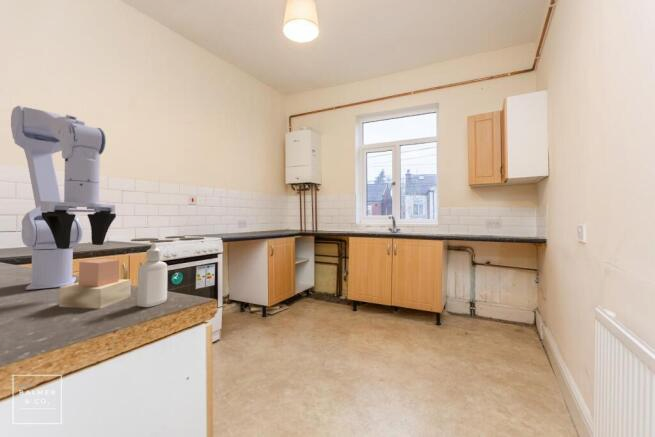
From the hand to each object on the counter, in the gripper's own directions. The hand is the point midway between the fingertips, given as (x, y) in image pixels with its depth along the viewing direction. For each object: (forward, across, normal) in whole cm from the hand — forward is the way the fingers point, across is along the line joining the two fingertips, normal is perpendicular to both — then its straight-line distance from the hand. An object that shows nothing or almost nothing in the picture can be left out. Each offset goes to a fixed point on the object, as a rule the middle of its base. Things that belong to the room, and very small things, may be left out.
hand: (81, 246), depth 64 cm
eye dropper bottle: (+11, -1, -18) cm, 21 cm away
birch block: (+11, -3, -7) cm, 13 cm away
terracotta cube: (+7, -3, -7) cm, 10 cm away
